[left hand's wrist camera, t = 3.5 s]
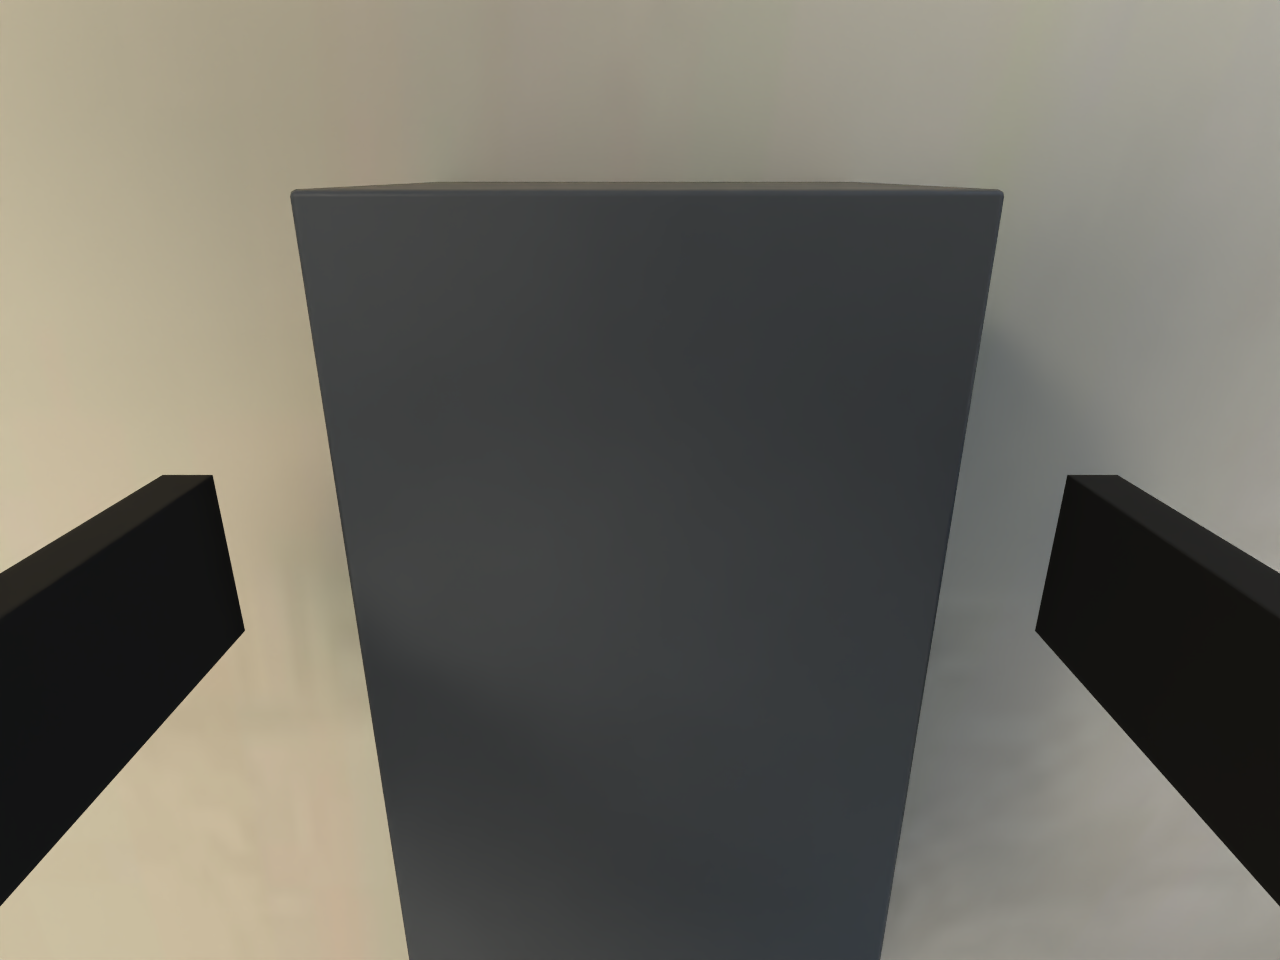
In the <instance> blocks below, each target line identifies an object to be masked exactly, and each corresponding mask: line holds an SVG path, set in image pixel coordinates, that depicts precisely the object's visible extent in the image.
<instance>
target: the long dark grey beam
mask: <svg viewBox="0 0 1280 960" xmlns="http://www.w3.org/2000/svg"><path fill="white" fill-rule="evenodd" d="M290 198H291V204H292V211H293V217H294V224H295V230H296V236H297V243H298V249H299V256H300V262H301V268H302V275H303V281H304V288H305V294H306V300H307V307H308V313H309V320H310V326H311V332H312V339H313V345H314V352H315V358H316V364H317V371H318V377H319V384H320V390H321V396H322V403H323V409H324V416H325V422H326V429H327V435H328V441H329V448H330V454H331V461H332V467H333V473H334V480H335V486H336V493H337V499H338V505H339V512H340V518H341V525H342V531H343V537H344V544H345V550H346V557H347V563H348V569H349V576H350V582H351V589H352V595H353V601H354V608H355V614H356V621H357V627H358V633H359V640H360V646H361V653H362V659H363V666H364V672H365V678H366V685H367V691H368V698H369V704H370V710H371V717H372V723H373V730H374V736H375V742H376V749H377V755H378V762H379V768H380V774H381V781H382V787H383V794H384V800H385V806H386V813H387V819H388V826H389V832H390V838H391V845H392V851H393V858H394V864H395V871H396V877H397V883H398V890H399V896H400V903H401V909H402V915H403V922H404V928H405V935H406V941H407V947H408V954H409V960H880V957H881V950H882V944H883V938H884V932H885V926H886V920H887V914H888V907H889V901H890V895H891V889H892V883H893V877H894V870H895V864H896V858H897V852H898V846H899V840H900V833H901V827H902V821H903V815H904V809H905V803H906V797H907V790H908V784H909V778H910V772H911V766H912V760H913V753H914V747H915V741H916V735H917V729H918V723H919V717H920V710H921V704H922V698H923V692H924V686H925V680H926V673H927V667H928V661H929V655H930V649H931V643H932V636H933V630H934V624H935V618H936V612H937V606H938V600H939V593H940V587H941V581H942V575H943V569H944V563H945V556H946V550H947V544H948V538H949V532H950V526H951V520H952V513H953V507H954V501H955V495H956V489H957V483H958V476H959V470H960V464H961V458H962V452H963V446H964V440H965V433H966V427H967V421H968V415H969V409H970V403H971V396H972V390H973V384H974V378H975V372H976V366H977V359H978V353H979V347H980V341H981V335H982V329H983V323H984V316H985V310H986V304H987V298H988V292H989V286H990V279H991V273H992V267H993V261H994V255H995V249H996V243H997V236H998V230H999V224H1000V218H1001V212H1002V206H1003V199H1004V194H1003V192H1002V191H1000V190H998V189H978V188H959V187H939V186H919V185H899V184H879V183H859V182H432V183H412V184H393V185H373V186H353V187H334V188H314V189H296V190H294V191H292V192H291V196H290Z"/></svg>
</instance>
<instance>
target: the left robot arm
mask: <svg viewBox="0 0 1280 960" xmlns="http://www.w3.org/2000/svg"><path fill="white" fill-rule="evenodd" d="M244 631H245V629H244V624H243V619H242V614H241V610H240V605H239V600H238V595H237V590H236V586H235V581H234V576H233V571H232V566H231V562H230V557H229V552H228V547H227V542H226V537H225V533H224V528H223V523H222V518H221V513H220V509H219V504H218V499H217V494H216V489H215V485H214V480H213V475H162V476H160V477H159V478H157V479H155V480H154V481H152V482H150V483H149V484H147V485H145V486H144V487H142V488H141V489H139V490H137V491H136V492H134V493H132V494H131V495H129V496H127V497H126V498H124V499H122V500H121V501H119V502H117V503H116V504H114V505H112V506H111V507H109V508H108V509H106V510H104V511H103V512H101V513H99V514H98V515H96V516H94V517H93V518H91V519H89V520H88V521H86V522H84V523H83V524H81V525H80V526H78V527H76V528H75V529H73V530H71V531H70V532H68V533H66V534H65V535H63V536H61V537H60V538H58V539H56V540H55V541H53V542H51V543H50V544H48V545H47V546H45V547H43V548H42V549H40V550H38V551H37V552H35V553H33V554H32V555H30V556H28V557H27V558H25V559H23V560H22V561H20V562H19V563H17V564H15V565H14V566H12V567H10V568H9V569H7V570H5V571H4V572H2V573H0V906H1V905H2V904H3V903H4V901H5V900H6V899H7V898H8V897H9V896H10V895H11V894H12V892H13V891H14V890H15V889H16V888H17V887H18V886H19V885H20V883H21V882H22V881H23V880H24V879H25V878H26V877H27V876H28V874H29V873H30V872H31V871H32V870H33V869H34V868H35V867H36V865H37V864H38V863H39V862H40V861H41V860H42V859H43V858H44V856H45V855H46V854H47V853H48V852H49V851H50V850H51V849H52V847H53V846H54V845H55V844H56V843H57V842H58V841H59V840H60V838H61V837H62V836H63V835H64V834H65V833H66V832H67V831H68V829H69V828H70V827H71V826H72V825H73V824H74V823H75V822H76V820H77V819H78V818H79V817H80V816H81V815H82V814H83V812H84V811H85V810H86V809H87V808H88V807H89V806H90V805H91V803H92V802H93V801H94V800H95V799H96V798H97V797H98V796H99V794H100V793H101V792H102V791H103V790H104V789H105V788H106V787H107V785H108V784H109V783H110V782H111V781H112V780H113V779H114V778H115V776H116V775H117V774H118V773H119V772H120V771H121V770H122V769H123V767H124V766H125V765H126V764H127V763H128V762H129V761H130V760H131V758H132V757H133V756H134V755H135V754H136V753H137V752H138V751H139V749H140V748H141V747H142V746H143V745H144V744H145V743H146V742H147V740H148V739H149V738H150V737H151V736H152V735H153V734H154V733H155V731H156V730H157V729H158V728H159V727H160V726H161V725H162V724H163V722H164V721H165V720H166V719H167V718H168V717H169V716H170V714H171V713H172V712H173V711H174V710H175V709H176V708H177V707H178V705H179V704H180V703H181V702H182V701H183V700H184V699H185V698H186V696H187V695H188V694H189V693H190V692H191V691H192V690H193V689H194V687H195V686H196V685H197V684H198V683H199V682H200V681H201V680H202V678H203V677H204V676H205V675H206V674H207V673H208V672H209V671H210V669H211V668H212V667H213V666H214V665H215V664H216V663H217V662H218V660H219V659H220V658H221V657H222V656H223V655H224V654H225V653H226V651H227V650H228V649H229V648H230V647H231V646H232V645H233V644H234V642H235V641H236V640H237V639H238V638H239V637H240V636H241V635H242V633H243V632H244ZM1035 631H1036V632H1037V633H1038V635H1039V636H1040V637H1041V638H1042V639H1043V640H1044V641H1045V642H1046V644H1047V645H1048V646H1049V647H1050V648H1051V649H1052V650H1053V651H1054V653H1055V654H1056V655H1057V656H1058V657H1059V658H1060V659H1061V660H1062V662H1063V663H1064V664H1065V665H1066V666H1067V667H1068V668H1069V669H1070V671H1071V672H1072V673H1073V674H1074V675H1075V676H1076V677H1077V678H1078V680H1079V681H1080V682H1081V683H1082V684H1083V685H1084V686H1085V687H1086V689H1087V690H1088V691H1089V692H1090V693H1091V694H1092V695H1093V696H1094V698H1095V699H1096V700H1097V701H1098V702H1099V703H1100V704H1101V705H1102V707H1103V708H1104V709H1105V710H1106V711H1107V712H1108V713H1109V714H1110V716H1111V717H1112V718H1113V719H1114V720H1115V721H1116V722H1117V724H1118V725H1119V726H1120V727H1121V728H1122V729H1123V730H1124V731H1125V733H1126V734H1127V735H1128V736H1129V737H1130V738H1131V739H1132V740H1133V742H1134V743H1135V744H1136V745H1137V746H1138V747H1139V748H1140V749H1141V751H1142V752H1143V753H1144V754H1145V755H1146V756H1147V757H1148V758H1149V760H1150V761H1151V762H1152V763H1153V764H1154V765H1155V766H1156V767H1157V769H1158V770H1159V771H1160V772H1161V773H1162V774H1163V775H1164V776H1165V778H1166V779H1167V780H1168V781H1169V782H1170V783H1171V784H1172V785H1173V787H1174V788H1175V789H1176V790H1177V791H1178V792H1179V793H1180V794H1181V796H1182V797H1183V798H1184V799H1185V800H1186V801H1187V802H1188V803H1189V805H1190V806H1191V807H1192V808H1193V809H1194V810H1195V811H1196V812H1197V814H1198V815H1199V816H1200V817H1201V818H1202V819H1203V820H1204V822H1205V823H1206V824H1207V825H1208V826H1209V827H1210V828H1211V829H1212V831H1213V832H1214V833H1215V834H1216V835H1217V836H1218V837H1219V838H1220V840H1221V841H1222V842H1223V843H1224V844H1225V845H1226V846H1227V847H1228V849H1229V850H1230V851H1231V852H1232V853H1233V854H1234V855H1235V856H1236V858H1237V859H1238V860H1239V861H1240V862H1241V863H1242V864H1243V865H1244V867H1245V868H1246V869H1247V870H1248V871H1249V872H1250V873H1251V874H1252V876H1253V877H1254V878H1255V879H1256V880H1257V881H1258V882H1259V883H1260V885H1261V886H1262V887H1263V888H1264V889H1265V890H1266V891H1267V892H1268V894H1269V895H1270V896H1271V897H1272V898H1273V899H1274V900H1275V901H1276V903H1277V904H1278V905H1279V906H1280V573H1278V572H1276V571H1275V570H1273V569H1271V568H1270V567H1268V566H1266V565H1265V564H1263V563H1261V562H1260V561H1258V560H1257V559H1255V558H1253V557H1252V556H1250V555H1248V554H1247V553H1245V552H1243V551H1242V550H1240V549H1238V548H1237V547H1235V546H1233V545H1232V544H1230V543H1229V542H1227V541H1225V540H1224V539H1222V538H1220V537H1219V536H1217V535H1215V534H1214V533H1212V532H1210V531H1209V530H1207V529H1205V528H1204V527H1202V526H1200V525H1199V524H1197V523H1196V522H1194V521H1192V520H1191V519H1189V518H1187V517H1186V516H1184V515H1182V514H1181V513H1179V512H1177V511H1176V510H1174V509H1172V508H1171V507H1169V506H1168V505H1166V504H1164V503H1163V502H1161V501H1159V500H1158V499H1156V498H1154V497H1153V496H1151V495H1149V494H1148V493H1146V492H1144V491H1143V490H1141V489H1139V488H1138V487H1136V486H1135V485H1133V484H1131V483H1130V482H1128V481H1126V480H1125V479H1123V478H1121V477H1120V476H1118V475H1067V480H1066V485H1065V489H1064V494H1063V499H1062V504H1061V509H1060V513H1059V518H1058V523H1057V528H1056V533H1055V537H1054V542H1053V547H1052V552H1051V557H1050V562H1049V566H1048V571H1047V576H1046V581H1045V586H1044V590H1043V595H1042V600H1041V605H1040V610H1039V614H1038V619H1037V624H1036V629H1035Z"/></svg>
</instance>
